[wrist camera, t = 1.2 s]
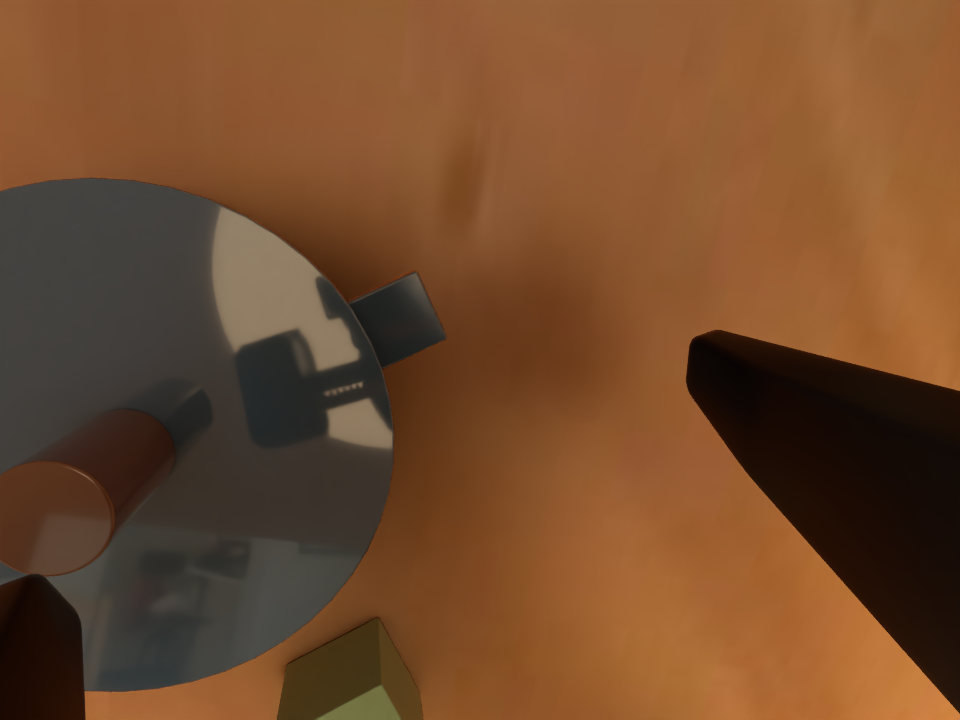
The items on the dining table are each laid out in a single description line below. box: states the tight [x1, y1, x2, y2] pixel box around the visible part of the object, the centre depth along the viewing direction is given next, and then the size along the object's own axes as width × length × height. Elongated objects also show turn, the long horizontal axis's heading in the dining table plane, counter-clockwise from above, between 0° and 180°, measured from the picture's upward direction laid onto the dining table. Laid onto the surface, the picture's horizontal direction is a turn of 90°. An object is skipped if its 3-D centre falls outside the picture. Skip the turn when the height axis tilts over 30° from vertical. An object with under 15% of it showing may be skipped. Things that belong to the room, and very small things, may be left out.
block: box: [277, 618, 423, 720], centre depth 25 cm, size 4×4×4 cm
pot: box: [340, 271, 447, 369], centre depth 21 cm, size 14×19×6 cm
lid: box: [0, 178, 394, 692], centre depth 15 cm, size 15×15×6 cm
